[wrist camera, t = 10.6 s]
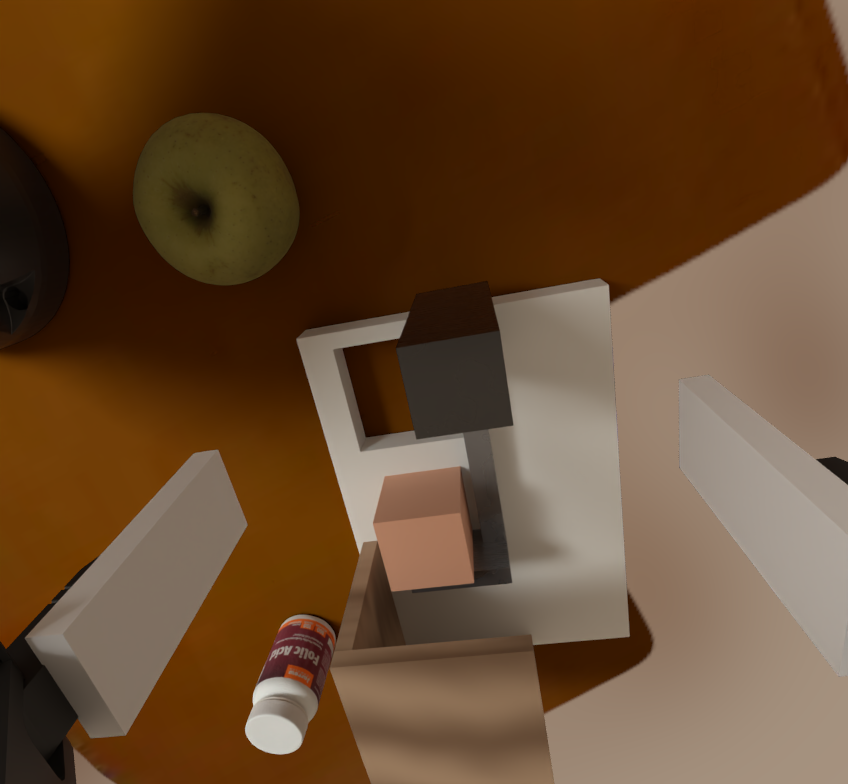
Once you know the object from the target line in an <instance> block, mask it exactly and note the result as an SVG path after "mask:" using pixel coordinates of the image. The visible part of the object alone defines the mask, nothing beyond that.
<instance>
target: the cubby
mask: <svg viewBox="0 0 848 784" xmlns="http://www.w3.org/2000/svg"><path fill="white" fill-rule="evenodd" d="M330 670H331V673H332V676H333V679H334V681H335V684H336V687H337V690H338V693H339V695H340V698H341V701H342V704H343V707H344V709H345V712H346V715H347V718H348V721H349V723H350V726H351V729H352V732H353V734H354V737H355V740H356V743H357V746H358V748H359V751H360V754H361V757H362V760H363V762H364V765H365V768H366V771H367V774H368V776H369V779H370V782H371V784H554V778H553V772H552V765H551V759H550V752H549V746H548V740H547V733H546V726H545V720H544V713H543V707H542V700H541V694H540V687H539V681H538V674H537V668H536V661H535V655H534V648H533V642H532V635H531V634H530V635H518V636H507V637H496V638H484V639H473V640H461V641H450V642H438V643H427V644H416V645H406V643H405V639H404V636H403V632H402V628H401V625H400V621H399V618H398V614H397V610H396V607H395V603H394V600H393V596H392V592H391V589H390V585H389V581H388V578H387V574H386V571H385V567H384V563H383V560H382V556H381V553H380V549H379V545H378V542H377V541H370V542H363V545H362V549H361V553H360V557H359V560H358V564H357V568H356V571H355V575H354V579H353V583H352V586H351V590H350V594H349V598H348V601H347V605H346V609H345V613H344V616H343V620H342V624H341V628H340V631H339V635H338V639H337V642H336V646H335V650H334V654H333V657H332V661H331V665H330Z"/></svg>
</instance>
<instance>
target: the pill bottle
mask: <svg viewBox="0 0 848 784" xmlns="http://www.w3.org/2000/svg"><path fill="white" fill-rule="evenodd" d="M335 642H336V637H335V633H334V631H333V629H332V628H331V626H330V625H329V624H328V623H327V622H325V621H324V620H322V619H320V618H318V617H315V616H311V615H304V614H303V615H295V616H293V617H290V618H288V619H287V620H286V621H285V622H284V623H283V624H282V625H281V627H280V629H279V632H278V634H277V637H276V639H275V641H274V644H273V646H272V649H271V651H270V653H269V656H268V658H267V661H266V663H265V666H264V668H263V670H262V673H261V675H260V678H259V680H258V683H257V685H256V687H255V690H254V693H253V705H254V706H253V709H252V711H251V713H250V716H249V718H248V721H247V723H246V727H245V732H246V736H247V737H248V739H249V740H250V742H251V743H252V744H253V745H254V746H256V747H257V748H259V749H261V750H263V751H265V752H269V753H273V754H288V753H291V752H293V751H295V750H297V749H298V748H299V747H300V746H301V744H302V742H303V739H304V736H305V733H306V730H307V727H308V722H309V721H310V720H311V719H312V718H313V717H314V715H315V713H316V711H317V708H318V704H319V701H320V697H321V693H322V690H323V687H324V683H325V679H326V676H327V672H328V669H329V665H330V661H331V658H332V654H333V651H334V647H335Z"/></svg>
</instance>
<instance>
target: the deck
mask: <svg viewBox="0 0 848 784" xmlns="http://www.w3.org/2000/svg"><path fill="white" fill-rule="evenodd" d="M492 301H493V305H494V309H495V313H496V317H497V321H498V325H499V329H500V335H501V342H502V349H503V356H504V362H505V369H506V376H507V383H508V390H509V397H510V404H511V411H512V418H513V425H514V426H507V427H501V428H494V429H489V434H490V440H491V446H492V452H493V458H494V464H495V470H496V476H497V482H498V488H499V494H500V500H501V506H502V512H503V518H504V525H505V531H506V537H507V543H508V551H509V559H510V567H511V575H512V583H509V584H499V585H490V586H480V587H470V588H460V589H451V590H441V591H431V592H422V593H412V591H411V590H403V591H393V592H392V591H391V592H392V596H393V600H394V603H395V607H396V610H397V614H398V618H399V621H400V625H401V628H402V632H403V636H404V639H405V643H406V645H416V644H427V643H438V642H450V641H461V640H473V639H484V638H496V637H507V636H518V635H530V634H531V635H532V642H533V645H539V644H551V643H563V642H574V641H586V640H598V639H610V638H621V637H630V632H629V616H628V599H627V582H626V565H625V549H624V533H623V517H622V516H623V515H622V500H621V499H622V498H621V482H620V465H619V448H618V431H617V415H616V398H615V381H614V365H613V348H612V331H611V314H610V297H609V285H608V284H607V283H606V282H604V281H603V280H601V279H600V278H598V279H593V280H587V281H581V282H575V283H570V284H564V285H558V286H553V287H547V288H541V289H536V290H530V291H524V292H518V293H513V294H507V295H501V296H496V297H492ZM408 315H409V312H404V313H399V314H393V315H387V316H382V317H376V318H370V319H365V320H359V321H353V322H348V323H342V324H336V325H330V326H325V327H319V328H313V329H308V330H305V331H304V332H303V333H302V334H301V335H300V336H299V337H298V338H297V339H296V340H297V344H298V347H299V350H300V354H301V357H302V361H303V364H304V367H305V371H306V374H307V377H308V381H309V384H310V388H311V391H312V394H313V398H314V401H315V405H316V408H317V411H318V415H319V418H320V421H321V425H322V428H323V432H324V435H325V438H326V442H327V445H328V449H329V452H330V455H331V459H332V462H333V465H334V469H335V472H336V476H337V479H338V482H339V486H340V489H341V493H342V496H343V499H344V503H345V506H346V509H347V513H348V516H349V520H350V523H351V526H352V530H353V533H354V537H355V540H356V543H357V547H358V550H359V554H360V553H361V549H362V545H363V542H370V541H377V537H376V534H375V530H374V526H373V520H374V516H375V513H376V509H377V505H378V501H379V497H380V493H381V489H382V485H383V481H384V477H385V476H391V475H398V474H406V473H413V472H421V471H428V470H436V469H443V468H451V467H458V466H460V467H461V472H462V478H463V483H464V488H465V493H466V498H467V504H468V509H469V514H470V519H471V524H472V529H473V530H476V529H481V528H480V522H479V517H478V511H477V506H476V501H475V495H474V490H473V485H472V479H471V474H470V469H469V463H468V458H467V452H466V447H465V442H464V436H463V433H459V434H452V435H445V436H438V437H431V438H424V439H417V440H416V436H415V431H408V432H401V433H394V434H387V435H380V436H373V437H365V433H364V429H363V425H362V421H361V418H360V414H359V410H358V406H357V402H356V398H355V395H354V391H353V387H352V383H351V379H350V376H349V372H348V368H347V364H346V360H345V357H344V353H343V349H342V348H345V347H351V346H357V345H363V344H369V343H374V342H380V341H386V340H392V339H398V338H400V336H401V333H402V331H403V328H404V326H405V323H406V320H407V318H408ZM377 542H378V541H377ZM378 545H379V544H378ZM379 549H380V548H379ZM380 553H381V552H380ZM381 556H382V555H381ZM382 560H383V559H382ZM383 563H384V562H383ZM384 567H385V566H384ZM385 571H386V570H385ZM386 574H387V573H386ZM387 578H388V577H387ZM388 581H389V580H388ZM389 585H390V584H389ZM390 589H391V588H390Z"/></svg>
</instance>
